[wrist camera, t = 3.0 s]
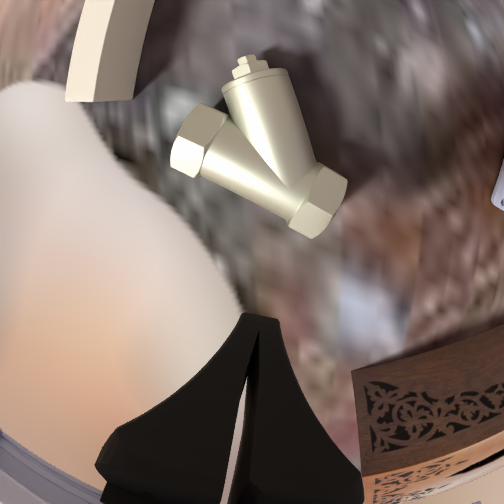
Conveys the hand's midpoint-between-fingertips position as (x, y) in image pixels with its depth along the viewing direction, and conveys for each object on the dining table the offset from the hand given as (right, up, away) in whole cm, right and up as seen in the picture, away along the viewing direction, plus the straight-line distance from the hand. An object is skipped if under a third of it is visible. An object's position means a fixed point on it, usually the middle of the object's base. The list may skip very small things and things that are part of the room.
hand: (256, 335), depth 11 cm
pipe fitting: (+1, +9, +4) cm, 11 cm away
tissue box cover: (+22, -10, +11) cm, 27 cm away
